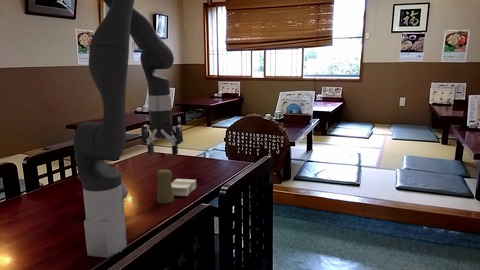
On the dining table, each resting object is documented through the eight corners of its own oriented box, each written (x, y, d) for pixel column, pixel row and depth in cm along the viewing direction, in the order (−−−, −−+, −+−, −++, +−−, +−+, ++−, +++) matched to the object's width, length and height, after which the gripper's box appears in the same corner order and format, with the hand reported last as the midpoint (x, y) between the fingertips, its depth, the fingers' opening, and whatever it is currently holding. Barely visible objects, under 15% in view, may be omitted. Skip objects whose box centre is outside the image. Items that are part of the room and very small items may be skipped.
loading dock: (186, 196, 132) (186, 188, 131) (166, 194, 134) (166, 187, 133) (196, 187, 141) (196, 179, 141) (177, 185, 143) (176, 178, 143)
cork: (170, 203, 125) (168, 173, 123) (154, 202, 126) (152, 172, 124) (176, 197, 131) (175, 168, 129) (161, 196, 132) (159, 167, 130)
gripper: (135, 109, 120) (138, 157, 123) (175, 110, 117) (178, 159, 120) (146, 106, 127) (149, 151, 131) (184, 107, 124) (186, 153, 127)
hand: (163, 155), depth 125 cm, fingers open, 8 cm apart
